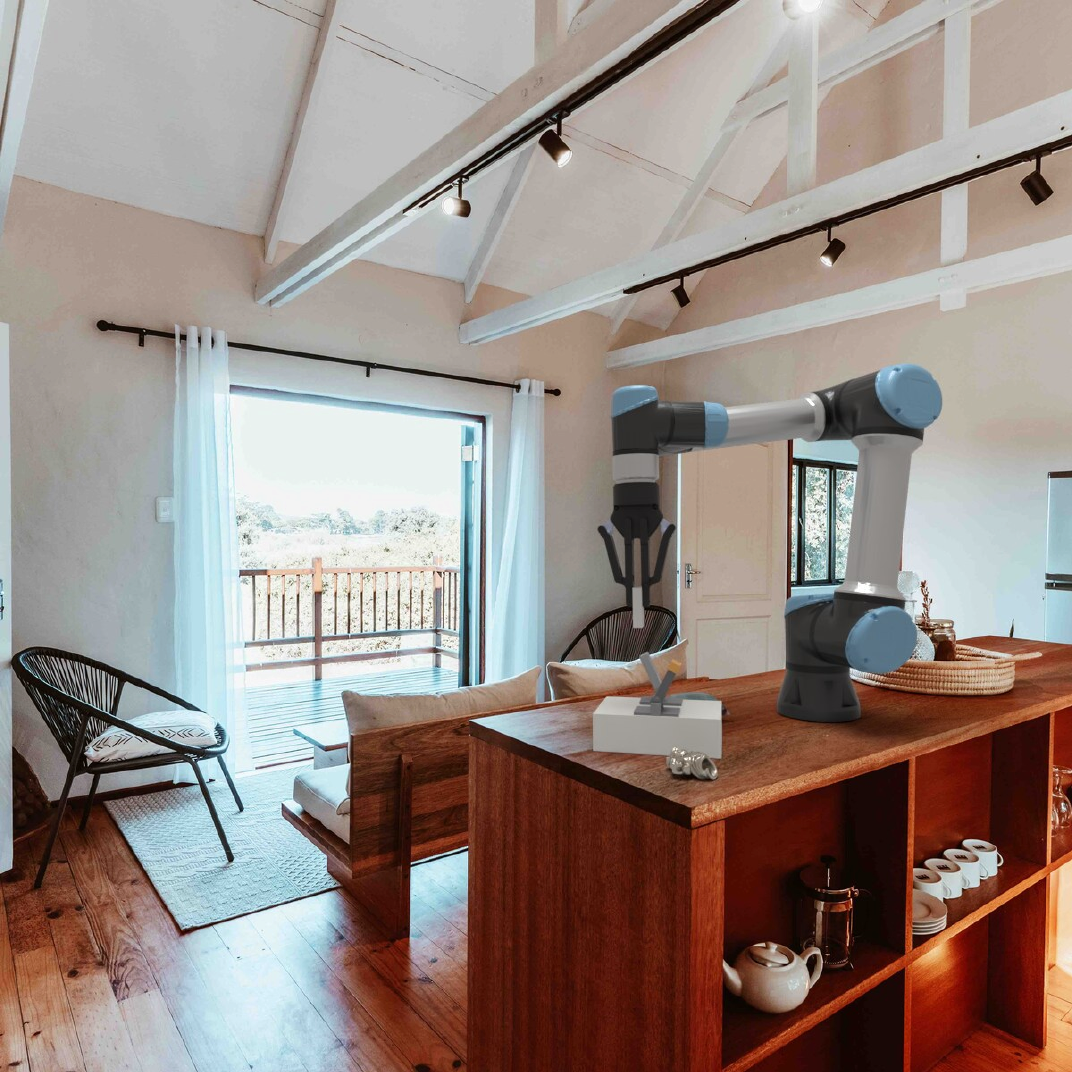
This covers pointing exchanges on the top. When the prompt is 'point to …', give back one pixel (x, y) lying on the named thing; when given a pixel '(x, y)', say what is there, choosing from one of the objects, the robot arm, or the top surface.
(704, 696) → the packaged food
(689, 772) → the ornament
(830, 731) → the top surface
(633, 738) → the box
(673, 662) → the lever
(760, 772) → the top surface
